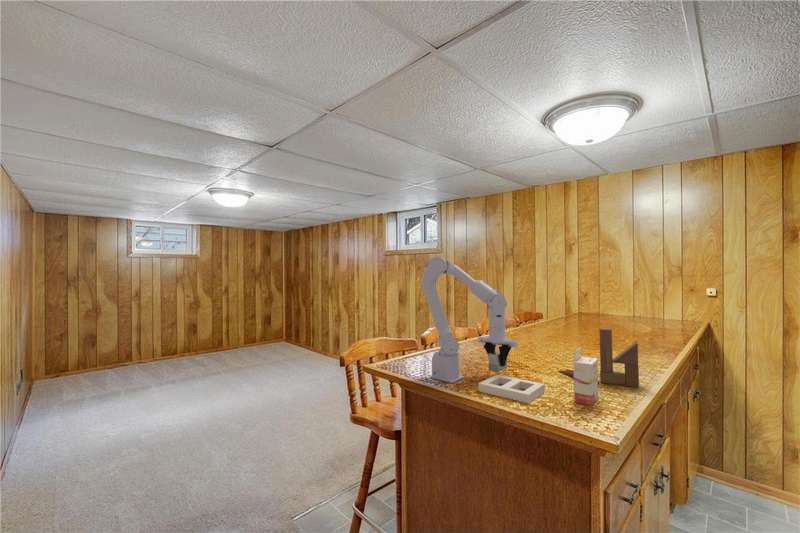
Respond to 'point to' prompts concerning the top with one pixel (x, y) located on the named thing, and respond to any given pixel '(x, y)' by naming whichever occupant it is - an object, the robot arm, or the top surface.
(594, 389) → the ink cartridge box
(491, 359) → the tall grey block
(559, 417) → the top surface
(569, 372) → the primitive tool
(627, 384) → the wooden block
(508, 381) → the light grey flat piece
